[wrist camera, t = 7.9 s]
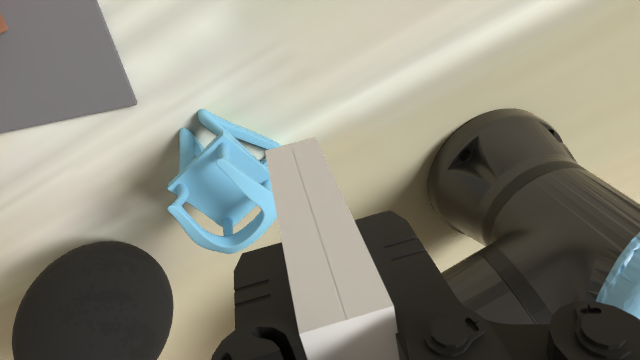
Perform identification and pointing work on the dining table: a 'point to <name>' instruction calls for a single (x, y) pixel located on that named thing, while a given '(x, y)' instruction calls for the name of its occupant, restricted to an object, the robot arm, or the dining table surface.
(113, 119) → the dining table surface
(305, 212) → the robot arm
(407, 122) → the dining table surface
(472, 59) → the dining table surface
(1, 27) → the wood block
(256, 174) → the chair
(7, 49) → the mat
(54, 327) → the decorative egg
